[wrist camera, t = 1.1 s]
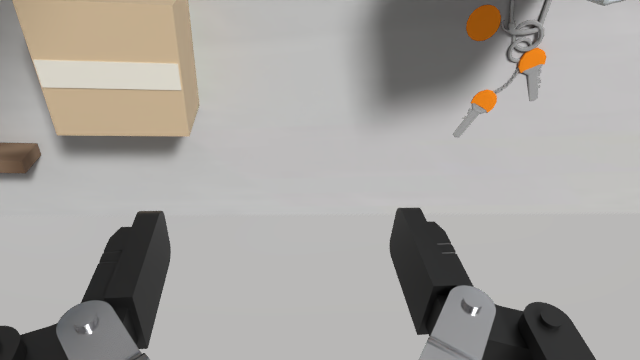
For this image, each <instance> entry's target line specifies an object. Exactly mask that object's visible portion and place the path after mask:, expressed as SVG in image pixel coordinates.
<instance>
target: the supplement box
mask: <svg viewBox="0 0 640 360" xmlns="http://www.w3.org/2000/svg"><path fill="white" fill-rule="evenodd" d="M588 1H591V2H594V3H596V4H599V5H603V6H605V5H609V4H612V3H616V2H620V1H624V0H588Z"/></svg>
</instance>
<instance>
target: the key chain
mask: <svg viewBox="0 0 640 360" xmlns="http://www.w3.org/2000/svg"><path fill="white" fill-rule="evenodd" d="M551 1H552V0H546V3H545V5H544V8H543V11H542V14H541V17H540V20H539V22H538V21H536V20H527V21H525V22H523V23H521V24H519V25H518V26H517V28H516V29H514V28H515V26H516V21H514V23H513V14H514V0H511V3H510V23H508V25H509V30H506V29H505V28H504V26H503V25H504V21H505V20H503V21H502V22H501V27H502V29H503V30H504V31H505V32H509V34H511V35H512V45H511V46H510V48H509V51H508V58H509V59H510V61H512V62H518V68H516V70H515V71H516V72H515V73H514V74H513V76H512V79H511V78H510V79H509V81H508V83H506V84H504V85H503V87H500V88H499V89H498V90H497V91H496V90H495V91H490V90H484V91H481V92H479V93H478V94H476V95H475V96H474V97H473V99H472V101H471V103H472V109H469V110H468V111H469V112H468V113H467V114H468V116H465V117H464V118H463V117H462V118H463V119H464V120H463V122H462V123H461V124H460V125H459V127H458V128H457V129H456V130H455V132H454V133H453V135H454V137H460V136H461V135H462V133H463V132H464V131H465V130H466V129H467V128H468V126H469V125H470V124H471V123H472V122H473V121H474V119H475V118H476V117H477V116H478V115H479V114H481V113H484V112H487V113H488V112H489V111H490V110H491V109H493V107H494V106H495V104H496V102H497V96H496V93H498V92H500V91H502V90H503V89H504V88H506V87H507V86H508V85H509V84H510V83H511V82H512V81H513V80H514V78H515V77H516V76H517V74H518V72H519V71H520V73H524V74H526V75H527V81H528V94H529V101H534V100H536V99H537V98H538V88H540V85H539V86H538V83H541V80H540V78H538V76H540V73H541V70H539V69H540V68H541V66H542V65H543V64H545V60H546V55H545V52H544V51H543V50H541V49H539V48H536V47H537V46H538V45H539V44H540V43H541V41H542V39H543V37H544V27H543V24H544V21H545V18H546V15H547V12H548V10H549V7H550V4H551ZM500 21H501V15H500V12H499V10H498V9H497V8H496V7H495V6H492V5H483V6H480V7H479V8H477V9H475V10H474V11H473V13H472V14H471V15H470V16H469V19H468V21H467V26H466V30H467V33H468V36H469V37H470V38H471V39H473V40H476V41H483V40H486V39H488V38H490V37H492V35H493V34H494V33H495V32H496V31H497V29H498V28H499V26H500ZM526 25H534V26H536V27H535V28H532V29H523V30H520V29H521V28H522V27H524V26H526ZM536 32H539V38H538V40H537V41H536V42H535V43H534V44H533V45H532V41H531V40H530V39H529V38H526V37H524V38H520V39H518V40H516V35H526V34H532V33H536ZM521 41H525V42H527V43H528V44H529V47H521V46H519V45H518V43H519V42H521ZM513 48H515V49H516V50H518V51H521V52H522V51H527V52H526V53H524V54H523V56H522V57H521V58H519V59H515V58H513V57H512V50H513Z"/></svg>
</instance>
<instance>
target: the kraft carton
mask: <svg viewBox="0 0 640 360" xmlns="http://www.w3.org/2000/svg"><path fill="white" fill-rule="evenodd" d="M12 1H13V4H14V7H15V10H16V13H17V16H18V19H19V22H20V25H21V28H22V31H23V34H24V37H25V40H26V43H27V46H28V49H29V52H30V55H31V58H32V61H33V64H34V67H35V70H36V73H37V76H38V79H39V82H40V85H41V88H42V91H43V94H44V97H45V100H46V103H47V106H48V109H49V112H50V115H51V118H52V121H53V124H54V127H55V130H56V133H57V135H72V136H190V132H191V129H192V126H193V123H194V120H195V117H196V114H197V111H198V108H199V98H198V88H197V79H196V70H195V61H194V52H193V42H192V33H191V24H190V15H189V5H188V0H12Z"/></svg>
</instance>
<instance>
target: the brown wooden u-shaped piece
mask: <svg viewBox="0 0 640 360" xmlns="http://www.w3.org/2000/svg"><path fill="white" fill-rule="evenodd" d="M40 156H41V153H40V150H39V147H38V144H34V143H0V173H26V172H27V171H28V170H29V169H30V167H31V166H32V165H33V164H34V163H35V162H36V160H37V159H38V158H39V157H40Z"/></svg>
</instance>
